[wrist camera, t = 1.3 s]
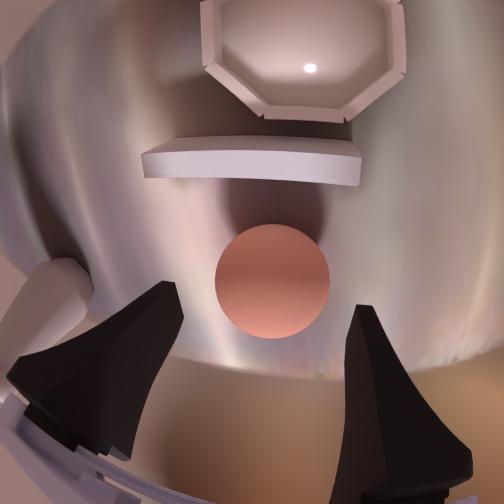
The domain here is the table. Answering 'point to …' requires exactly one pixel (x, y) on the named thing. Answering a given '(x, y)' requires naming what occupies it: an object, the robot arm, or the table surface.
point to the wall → (256, 159)
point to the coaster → (304, 54)
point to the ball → (272, 281)
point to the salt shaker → (43, 313)
